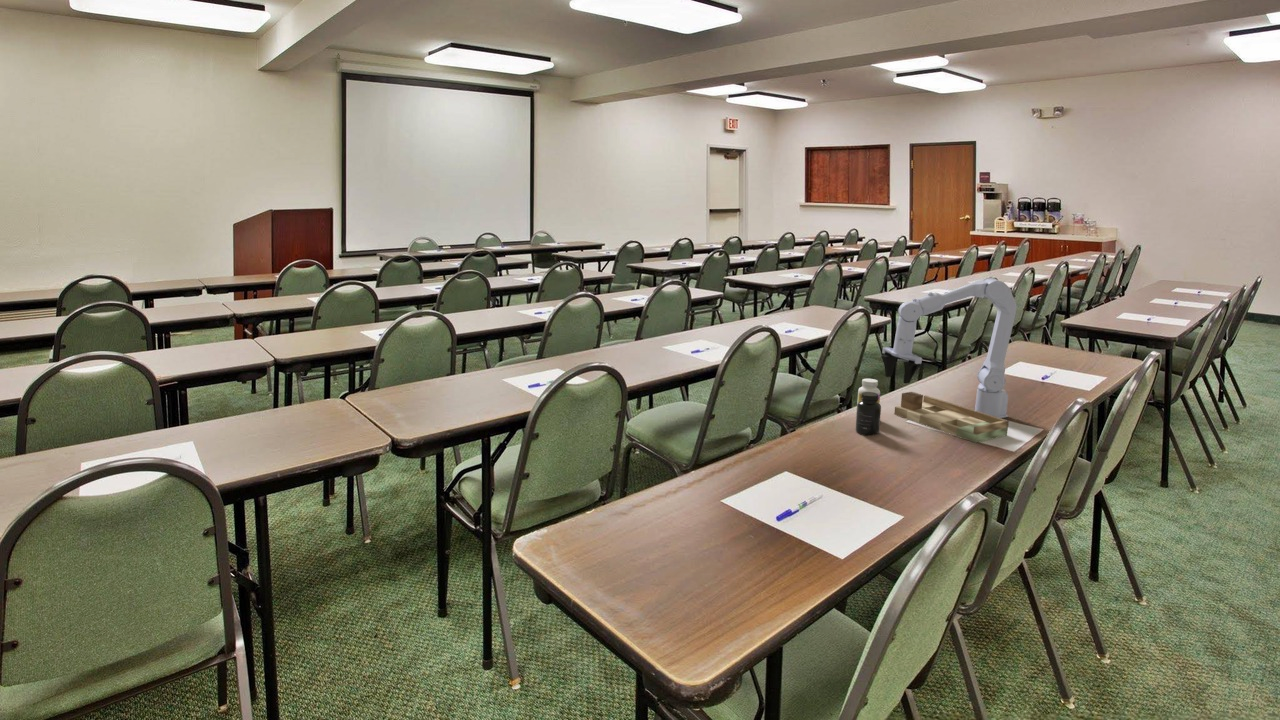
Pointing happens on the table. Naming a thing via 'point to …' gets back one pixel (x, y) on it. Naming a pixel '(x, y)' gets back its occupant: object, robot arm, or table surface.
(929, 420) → the trap board
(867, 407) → the supplement bottle
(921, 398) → the walnut block
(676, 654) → the table surface
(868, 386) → the supplement bottle
